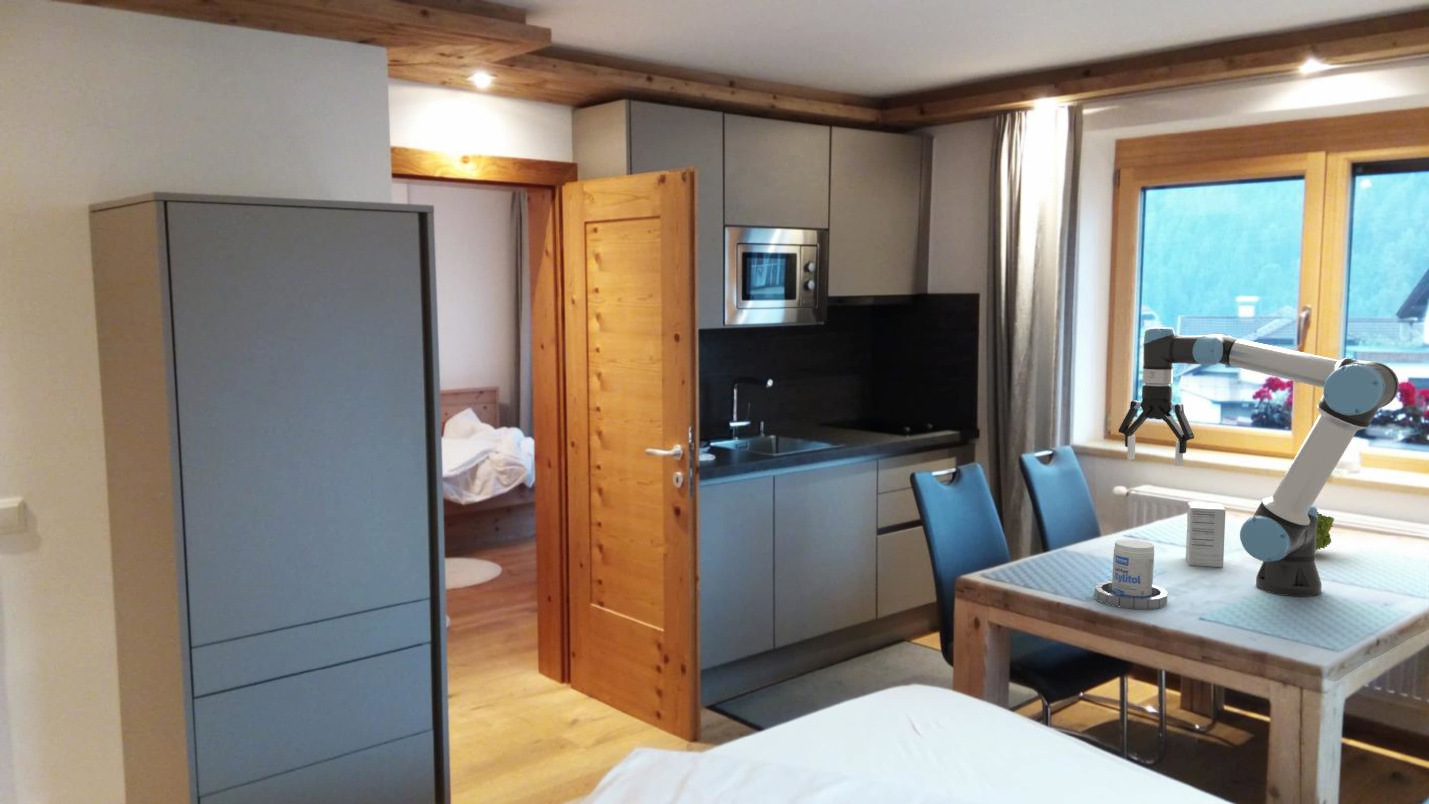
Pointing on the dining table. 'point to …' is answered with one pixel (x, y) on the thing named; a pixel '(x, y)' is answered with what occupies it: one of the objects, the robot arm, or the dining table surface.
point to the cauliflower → (1323, 531)
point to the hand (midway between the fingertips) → (1154, 462)
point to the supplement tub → (1133, 568)
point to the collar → (1134, 603)
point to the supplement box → (1205, 534)
